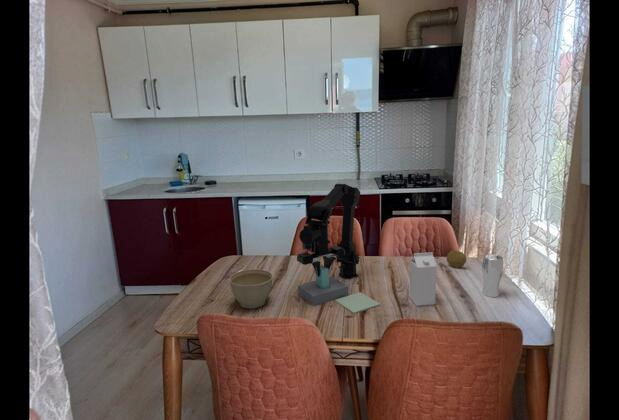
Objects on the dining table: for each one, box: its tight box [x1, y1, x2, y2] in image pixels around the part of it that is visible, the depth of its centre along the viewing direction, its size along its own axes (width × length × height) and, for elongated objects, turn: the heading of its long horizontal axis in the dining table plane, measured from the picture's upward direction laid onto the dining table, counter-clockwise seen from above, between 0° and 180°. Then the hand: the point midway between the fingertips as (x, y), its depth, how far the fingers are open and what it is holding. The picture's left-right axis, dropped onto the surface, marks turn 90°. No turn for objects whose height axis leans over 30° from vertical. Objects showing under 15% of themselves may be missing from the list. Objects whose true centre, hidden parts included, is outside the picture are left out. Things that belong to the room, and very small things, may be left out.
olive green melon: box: [446, 249, 467, 269], centre depth 169 cm, size 7×8×8 cm
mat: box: [334, 291, 381, 315], centre depth 139 cm, size 12×12×1 cm
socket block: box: [297, 275, 350, 307], centre depth 146 cm, size 16×12×4 cm
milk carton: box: [409, 251, 437, 307], centre depth 136 cm, size 7×7×19 cm
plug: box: [314, 264, 330, 289], centre depth 145 cm, size 3×5×9 cm, turn 29°
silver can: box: [481, 253, 504, 298], centre depth 141 cm, size 7×7×15 cm
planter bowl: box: [228, 268, 274, 310], centre depth 141 cm, size 16×16×11 cm
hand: (321, 275), depth 145 cm, fingers closed on plug, 3 cm apart
